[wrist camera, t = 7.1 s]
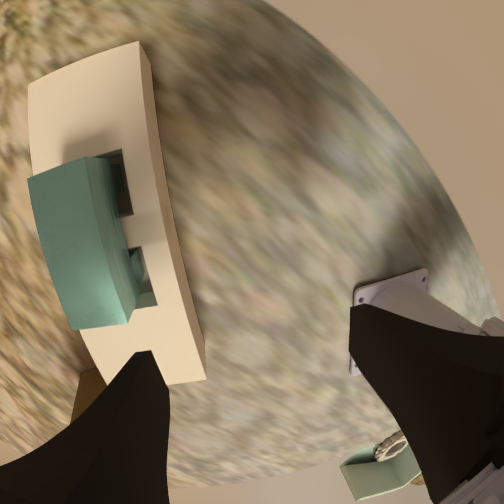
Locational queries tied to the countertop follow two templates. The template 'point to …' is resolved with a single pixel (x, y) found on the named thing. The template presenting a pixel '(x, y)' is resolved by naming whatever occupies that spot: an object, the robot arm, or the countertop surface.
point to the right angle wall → (380, 468)
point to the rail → (124, 200)
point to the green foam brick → (86, 241)
